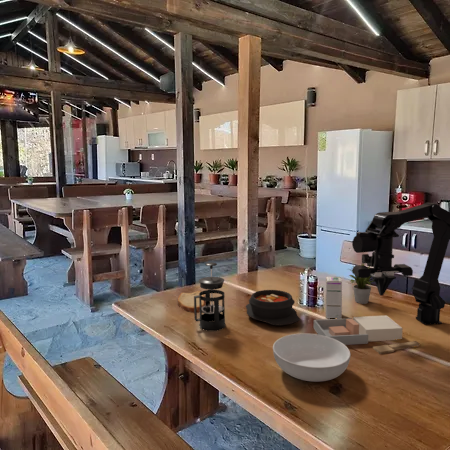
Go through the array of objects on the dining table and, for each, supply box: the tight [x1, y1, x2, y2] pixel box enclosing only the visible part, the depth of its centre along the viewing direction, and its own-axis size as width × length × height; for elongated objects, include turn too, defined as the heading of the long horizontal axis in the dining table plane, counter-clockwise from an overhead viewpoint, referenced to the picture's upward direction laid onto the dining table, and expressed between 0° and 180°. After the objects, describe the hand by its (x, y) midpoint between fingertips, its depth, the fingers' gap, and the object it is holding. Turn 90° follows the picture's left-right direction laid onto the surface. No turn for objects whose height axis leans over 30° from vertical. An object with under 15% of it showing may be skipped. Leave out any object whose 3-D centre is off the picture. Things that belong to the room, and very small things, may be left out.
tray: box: [313, 317, 369, 346], centre depth 138 cm, size 14×14×3 cm
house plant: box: [346, 263, 375, 305], centre depth 168 cm, size 14×14×16 cm
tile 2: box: [346, 318, 359, 335], centre depth 136 cm, size 5×5×2 cm
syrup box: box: [325, 276, 343, 319], centre depth 154 cm, size 6×6×14 cm
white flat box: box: [352, 314, 403, 342], centre depth 139 cm, size 12×11×4 cm
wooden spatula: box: [372, 340, 420, 355], centre depth 128 cm, size 15×4×1 cm, turn 105°
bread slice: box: [177, 289, 206, 313], centre depth 172 cm, size 18×18×4 cm
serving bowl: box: [272, 333, 352, 383], centre depth 115 cm, size 21×21×7 cm
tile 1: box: [329, 326, 349, 336], centre depth 137 cm, size 5×5×2 cm
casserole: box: [245, 289, 301, 326], centre depth 155 cm, size 25×19×8 cm
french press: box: [193, 262, 227, 332], centre depth 146 cm, size 12×9×23 cm
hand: (381, 295), depth 141 cm, fingers closed
